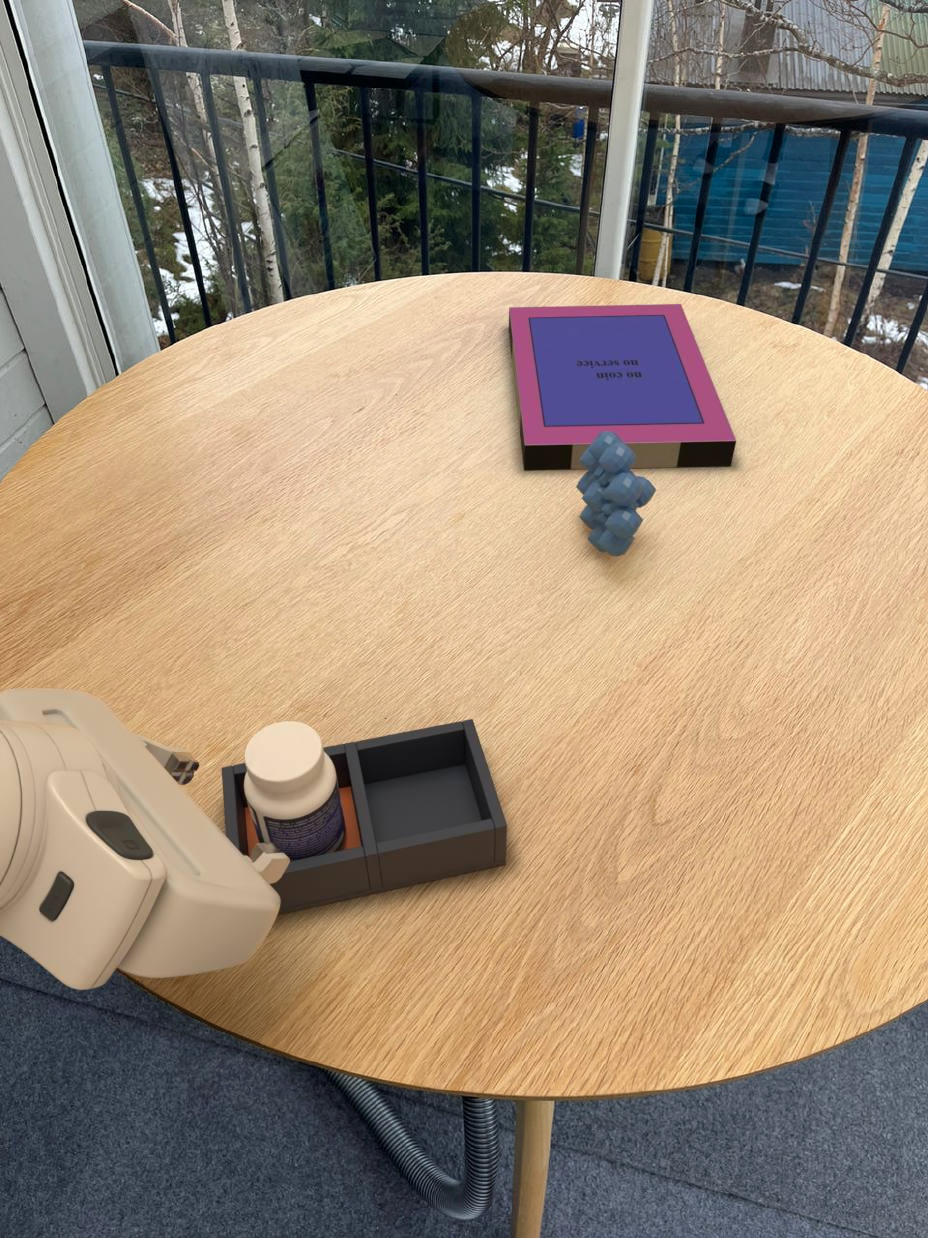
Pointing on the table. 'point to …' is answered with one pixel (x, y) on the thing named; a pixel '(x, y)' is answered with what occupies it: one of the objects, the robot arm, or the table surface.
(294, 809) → the pill bottle
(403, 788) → the tray
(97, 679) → the table surface
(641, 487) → the grapes
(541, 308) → the book
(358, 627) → the table surface
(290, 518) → the table surface
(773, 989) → the table surface
